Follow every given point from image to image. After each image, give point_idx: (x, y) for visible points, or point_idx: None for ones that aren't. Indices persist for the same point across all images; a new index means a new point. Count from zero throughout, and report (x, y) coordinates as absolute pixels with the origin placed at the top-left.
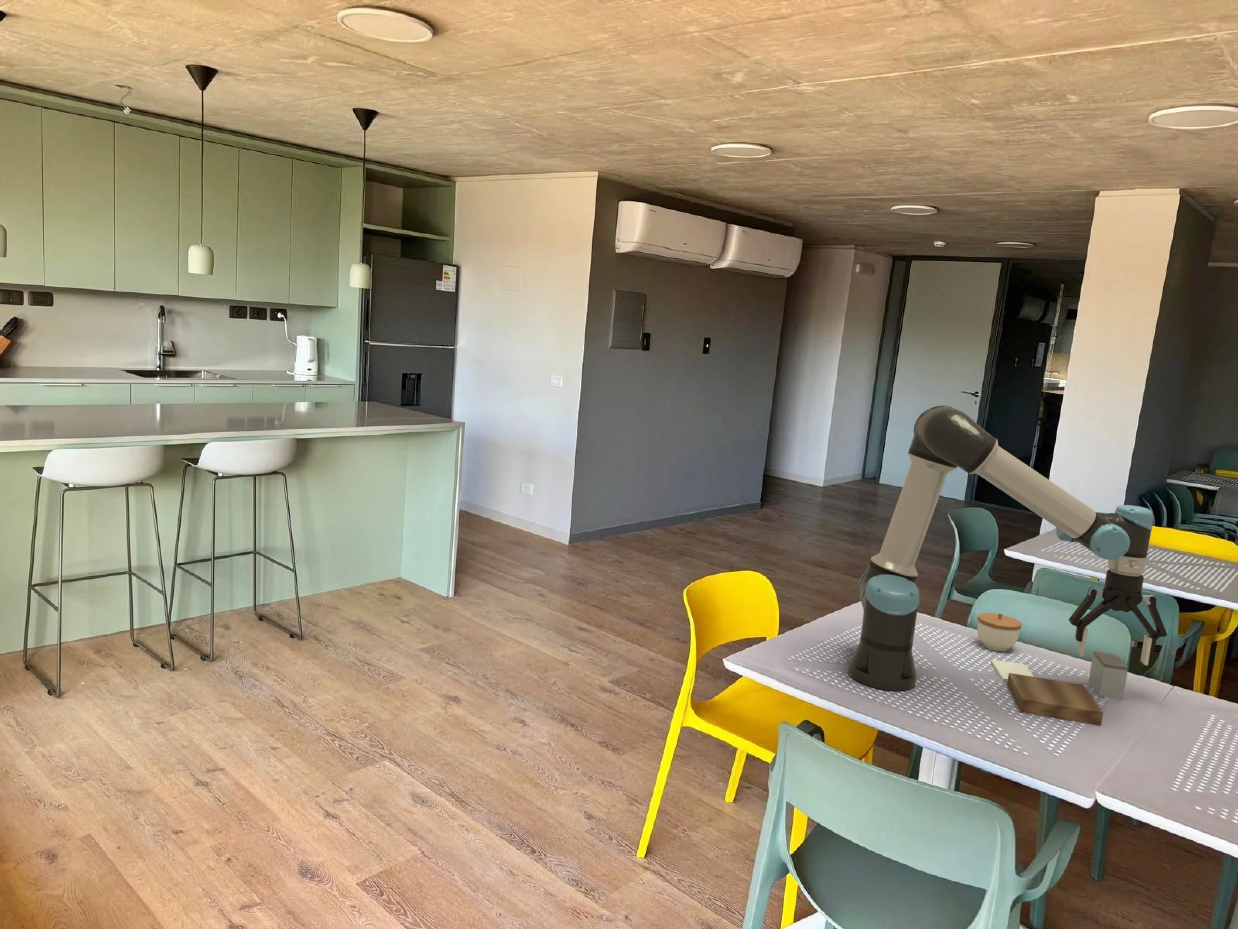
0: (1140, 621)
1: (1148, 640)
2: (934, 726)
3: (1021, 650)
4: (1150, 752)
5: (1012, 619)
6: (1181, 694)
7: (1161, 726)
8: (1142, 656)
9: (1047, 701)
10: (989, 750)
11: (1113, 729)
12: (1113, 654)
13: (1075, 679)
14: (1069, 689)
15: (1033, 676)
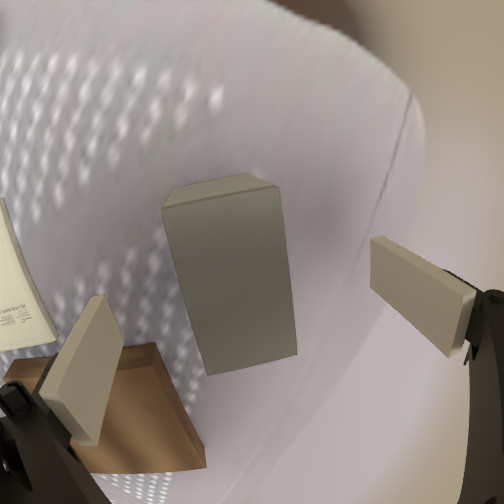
0: (479, 421)
1: (441, 350)
2: None
3: (9, 30)
4: (269, 471)
5: None
6: (423, 136)
7: (318, 389)
8: (385, 263)
9: (113, 469)
10: None
11: (224, 447)
12: (263, 202)
13: (133, 191)
14: (128, 413)
15: (30, 295)
